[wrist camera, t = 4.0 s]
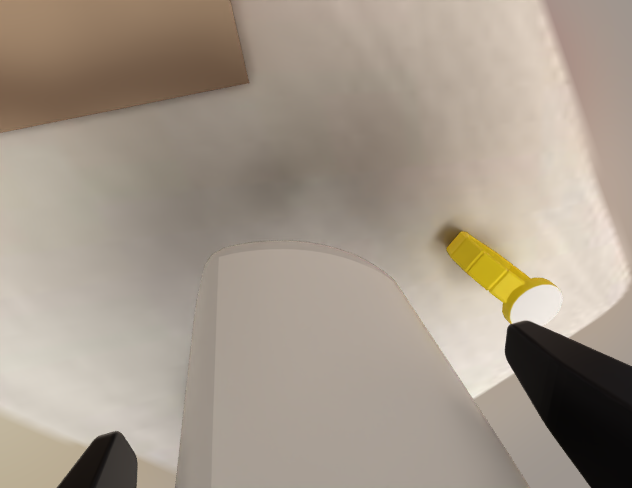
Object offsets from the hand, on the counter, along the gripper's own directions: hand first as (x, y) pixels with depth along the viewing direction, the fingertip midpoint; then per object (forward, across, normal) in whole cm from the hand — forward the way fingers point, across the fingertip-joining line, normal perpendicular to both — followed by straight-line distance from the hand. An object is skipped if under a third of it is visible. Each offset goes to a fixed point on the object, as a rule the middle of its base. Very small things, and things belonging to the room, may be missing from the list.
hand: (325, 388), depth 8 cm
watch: (+13, -11, +7) cm, 19 cm away
